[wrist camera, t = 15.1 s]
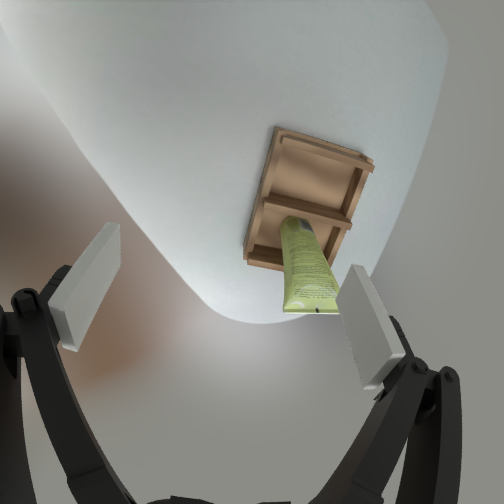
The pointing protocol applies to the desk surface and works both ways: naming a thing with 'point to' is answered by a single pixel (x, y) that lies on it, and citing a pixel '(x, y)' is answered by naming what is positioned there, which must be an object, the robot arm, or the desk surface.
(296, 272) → the tube
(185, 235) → the desk surface
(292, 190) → the rack
